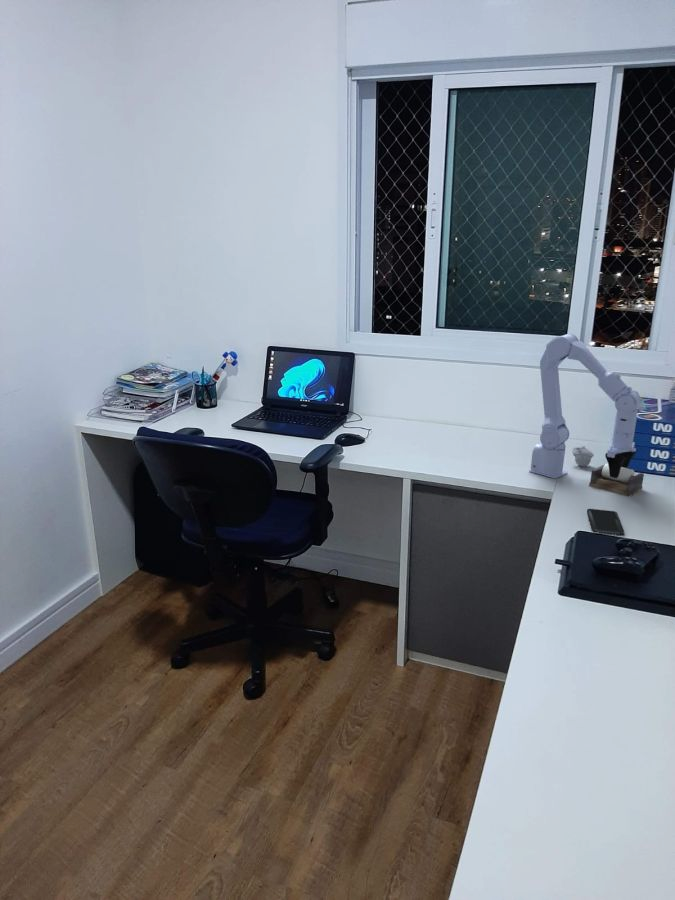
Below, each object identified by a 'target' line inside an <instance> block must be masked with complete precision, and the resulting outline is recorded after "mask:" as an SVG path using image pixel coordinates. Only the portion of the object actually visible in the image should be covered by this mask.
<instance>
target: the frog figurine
mask: <svg viewBox="0 0 675 900" xmlns="http://www.w3.org/2000/svg"><path fill="white" fill-rule="evenodd" d="M572 455H573V456H574V462H575V464H576V465H578V466H579V467H582V466H584V467H587V466H588V465H590V463H591V462H592V461H591V460H592V459H593V457H594V452H592V451H591V450H589V449H588V448H587V447H586V446H585V445H582V444H578V445H577V446H574V447H572Z"/></svg>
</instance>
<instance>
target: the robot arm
mask: <svg viewBox="0 0 675 900" xmlns="http://www.w3.org/2000/svg"><path fill="white" fill-rule="evenodd" d="M565 359H568V360H574V361H578V362H579V363H580V364H582V365H583V366H584V367H585V368H586V369H587V370H588V371H589V372H590V373H591V374H593V376H595V378H596V379H598V381H597V383H598V384H597V385H598V387H599V388H600V389H601V390H602V391H603V392H604V393H605V394H606V395H607V397H608V398H610V399H611V401H613V402H614V406H615V409H616V414H615V419H614V424H613V425H614V427H613V433H612V438H611V444H610V445H609V449H608V450H607V452H605V460H606V461H607V464H608V465H609V473H610V477H613V478H618V476H619V473H620V469H621V467H624V468H629V465H630V463H631V461H632V459H633V458H634V457H635V455H636V451H637V448H635V446H636V445H635V444H636V442H634V437H635V433H636V432H635V430H636V425H637V420H638V419H637V415H638V408H640V405H641V403H642V397H641V395H640V394H639V392H638V391H636V390H634V389H633V388H632V387H631V386H628V385H627V384H626V383H625V382H624V381H623V380H622V379H621V378H622V375H620V373H616V372H615V371H608V370H607V369H606V368H605V367H604V365H602V363H601V362H600V361H599V360H598V359H597V357H596V356H595V355H594V354H593V353H592V352H591V351H590V350H589V348H588V347H587V346H586V344H585V343H584V342H583V341H582V340H581V339H579V338H578V337H577V336H576V335H575V334H573V333H567V334H564V335H560V336H559V335H557V336H555V337H553V338H552V339H551V340H550V341H549V342H547V343H546V346H545V350H544V351H543V354H542V356H541V359H540V360H539V371H540V379H541V380H540V381H541V390H542V391H541V393H542V404H543V413H544V419H543V422H542V425H541V433H540V436H539V441H540V443H537V444H535V445H534V447H533V449H532V453H531V461H530V469H529V472H530V473H533V474H538V475H540V476H543V477H547V478H548V477H549V478H552V479H558V478H560V477H562V476H565V475H567V474H568V473H569V472H568V471H565V470H564V463H565V462H564V461H565V453H566V441H568V439H570V430H569V428H568V427H567V424H566V419H565V418H564V416H563V409H562V399H561V398H562V397H561V389H560V388H561V386H560V375H559V366H560V365H561V363H563V361H564V360H565Z"/></svg>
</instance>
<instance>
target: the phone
mask: <svg viewBox="0 0 675 900" xmlns="http://www.w3.org/2000/svg"><path fill="white" fill-rule="evenodd" d="M586 515H587V519H588V518H589V519H588V523H589V522H590V523H589V527H590V526H591V527H590V530H591V532H592V533H595V532H599V533H598V534H603V533H604V535H612V534H614V535H613V536H624V535H625V530H624V526H623V525H622V522H621V519H620V516H619V513H618V512H617V511H614V510H605V509H596V508H587V509H586ZM615 534H616V535H615Z"/></svg>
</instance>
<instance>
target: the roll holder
mask: <svg viewBox="0 0 675 900" xmlns="http://www.w3.org/2000/svg"><path fill="white" fill-rule="evenodd" d="M605 464H606V463H605ZM605 464H602V465H600V466H598V467H596V468H594V469H592V470H591V474H590V480H589V481H590V482H589V483H588V485H589V487H592V488H597V489H600V490H603V489H604V491H607V492H612V493H615V494H618V493H619V494H618V495H622V494H623V495H622V496H625V495H626V497H629V496H630V497H632V496H633V495H635V494H637V493H638V491H639V490H640V491H642V490H643V481H644V476H645V475H644V474H645V473H642V472H640V473H638V474H635V475H634V477H632V478H630V479H628V483H623V482H619V481H615V480H611V479H608V478H604V477H602V469H603V467H604V465H605ZM641 489H642V490H641ZM640 491H639V492H640ZM636 492H637V493H636ZM634 493H635V494H634ZM631 495H632V496H631Z"/></svg>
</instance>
